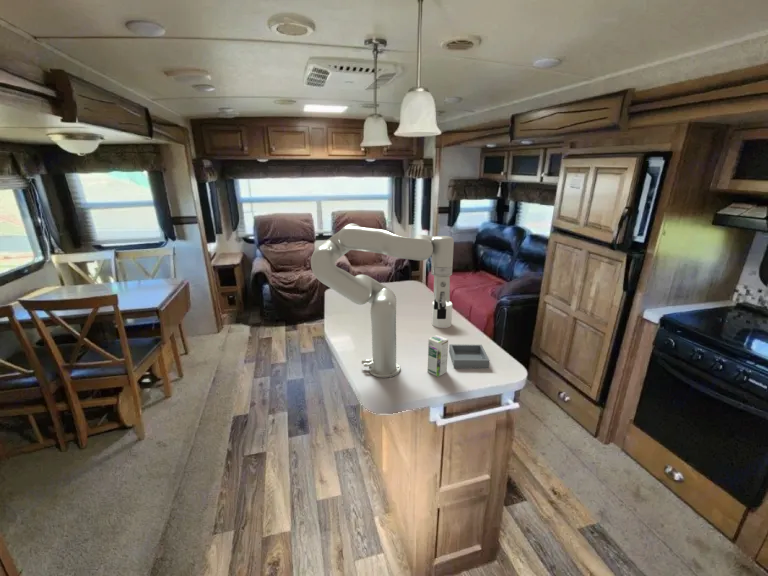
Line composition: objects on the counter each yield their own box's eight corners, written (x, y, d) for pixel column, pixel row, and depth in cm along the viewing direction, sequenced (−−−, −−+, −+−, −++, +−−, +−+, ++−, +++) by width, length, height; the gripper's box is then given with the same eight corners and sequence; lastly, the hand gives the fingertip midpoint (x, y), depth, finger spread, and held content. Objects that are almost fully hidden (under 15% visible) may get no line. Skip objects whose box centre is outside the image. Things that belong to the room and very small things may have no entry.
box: (453, 368, 141) (454, 360, 140) (449, 351, 155) (449, 344, 154) (488, 368, 141) (489, 360, 140) (481, 352, 154) (481, 344, 153)
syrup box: (426, 372, 139) (427, 338, 135) (435, 366, 143) (437, 334, 138) (438, 377, 135) (439, 343, 131) (447, 371, 139) (448, 338, 135)
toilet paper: (441, 319, 191) (441, 298, 188) (455, 324, 183) (456, 303, 180) (427, 323, 185) (428, 302, 182) (441, 329, 177) (442, 307, 174)
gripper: (456, 276, 119) (453, 322, 124) (448, 264, 136) (446, 306, 141) (434, 276, 119) (432, 322, 124) (429, 264, 136) (427, 306, 141)
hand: (439, 313), depth 133 cm, fingers open, 9 cm apart
